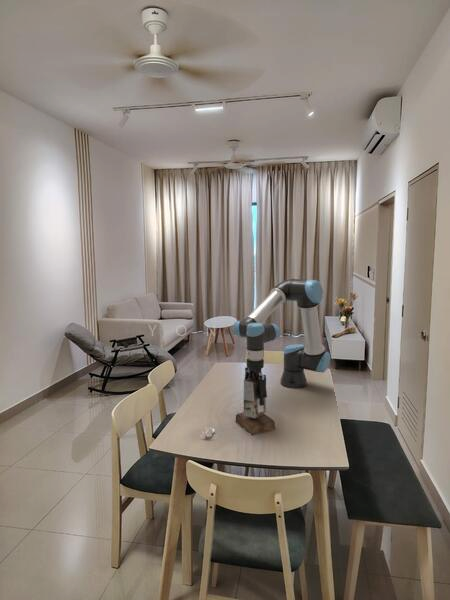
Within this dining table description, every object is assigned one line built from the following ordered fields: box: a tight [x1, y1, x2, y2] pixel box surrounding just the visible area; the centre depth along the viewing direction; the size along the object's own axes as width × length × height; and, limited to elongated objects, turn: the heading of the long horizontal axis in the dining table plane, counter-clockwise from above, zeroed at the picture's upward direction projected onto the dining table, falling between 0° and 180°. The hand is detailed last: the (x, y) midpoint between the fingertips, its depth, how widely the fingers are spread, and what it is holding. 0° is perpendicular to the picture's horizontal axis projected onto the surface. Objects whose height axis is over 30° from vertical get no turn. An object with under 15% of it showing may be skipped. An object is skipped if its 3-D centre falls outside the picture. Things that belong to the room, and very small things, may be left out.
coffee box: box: [243, 378, 267, 418], centre depth 169 cm, size 9×6×16 cm
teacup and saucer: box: [204, 426, 216, 438], centre depth 162 cm, size 9×8×4 cm
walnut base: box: [235, 411, 276, 436], centre depth 171 cm, size 12×14×4 cm
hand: (254, 407), depth 170 cm, fingers closed on coffee box, 8 cm apart
